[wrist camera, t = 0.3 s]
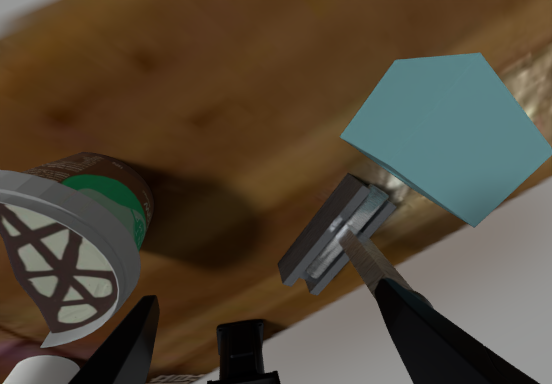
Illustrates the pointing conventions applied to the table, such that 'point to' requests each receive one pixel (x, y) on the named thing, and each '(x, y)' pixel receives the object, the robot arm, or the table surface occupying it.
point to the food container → (75, 238)
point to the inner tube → (361, 248)
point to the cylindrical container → (43, 371)
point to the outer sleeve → (329, 234)
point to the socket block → (449, 133)
